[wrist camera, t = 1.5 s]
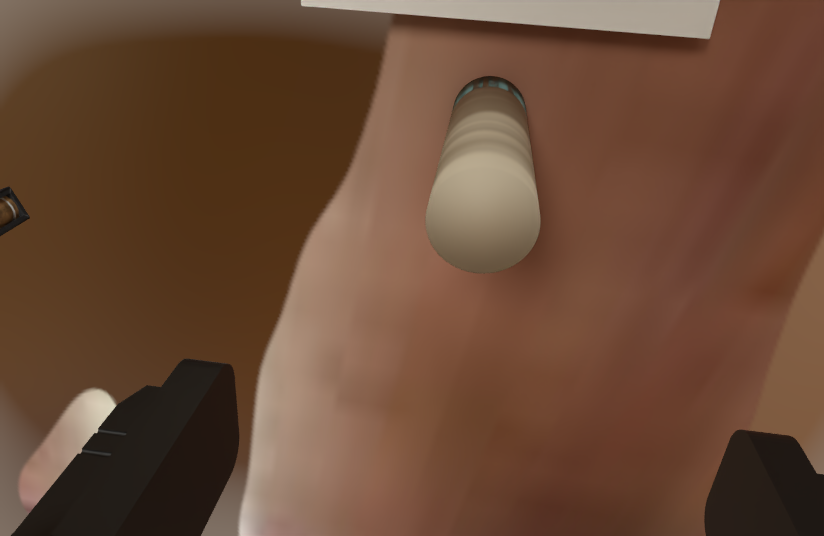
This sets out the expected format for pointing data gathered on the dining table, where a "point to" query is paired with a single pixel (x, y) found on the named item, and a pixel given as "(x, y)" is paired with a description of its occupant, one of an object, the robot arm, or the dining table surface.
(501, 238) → the rail post
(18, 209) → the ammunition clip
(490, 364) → the dining table surface
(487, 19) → the cup bracket
